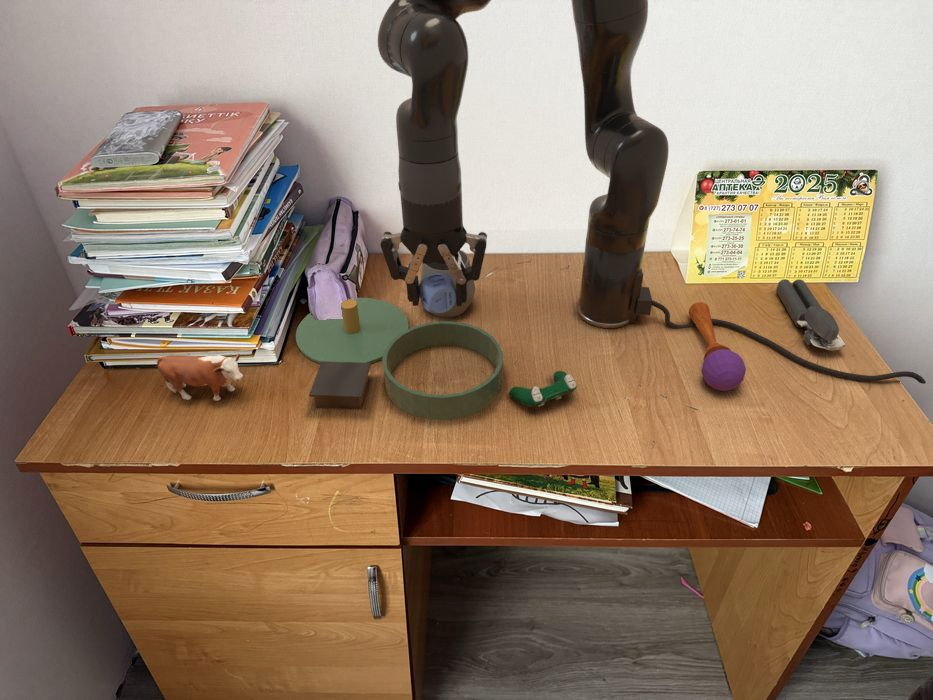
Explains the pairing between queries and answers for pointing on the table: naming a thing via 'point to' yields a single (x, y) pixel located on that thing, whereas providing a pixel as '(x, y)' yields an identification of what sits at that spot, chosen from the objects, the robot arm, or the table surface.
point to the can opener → (809, 315)
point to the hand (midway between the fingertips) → (437, 302)
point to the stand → (340, 385)
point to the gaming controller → (544, 390)
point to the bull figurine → (199, 372)
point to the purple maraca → (717, 354)
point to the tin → (450, 403)
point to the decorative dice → (437, 293)
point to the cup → (444, 269)
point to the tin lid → (352, 332)
